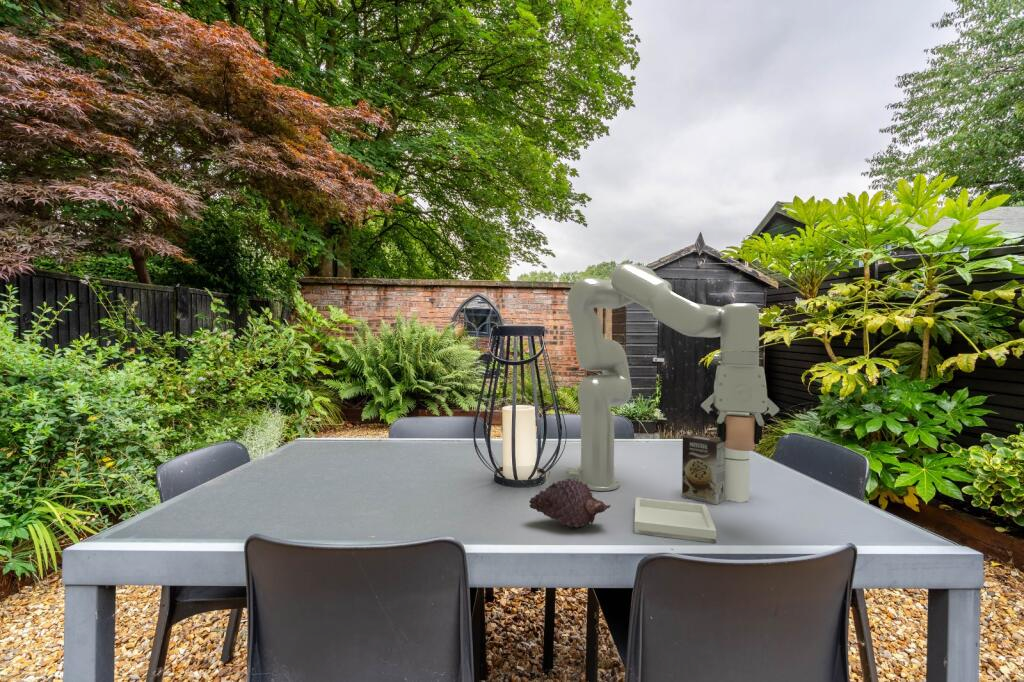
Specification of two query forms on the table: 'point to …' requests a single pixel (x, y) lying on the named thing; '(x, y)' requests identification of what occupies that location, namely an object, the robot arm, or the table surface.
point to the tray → (674, 520)
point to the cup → (739, 432)
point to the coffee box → (703, 468)
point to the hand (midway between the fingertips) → (738, 441)
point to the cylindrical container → (736, 474)
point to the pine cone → (568, 503)
